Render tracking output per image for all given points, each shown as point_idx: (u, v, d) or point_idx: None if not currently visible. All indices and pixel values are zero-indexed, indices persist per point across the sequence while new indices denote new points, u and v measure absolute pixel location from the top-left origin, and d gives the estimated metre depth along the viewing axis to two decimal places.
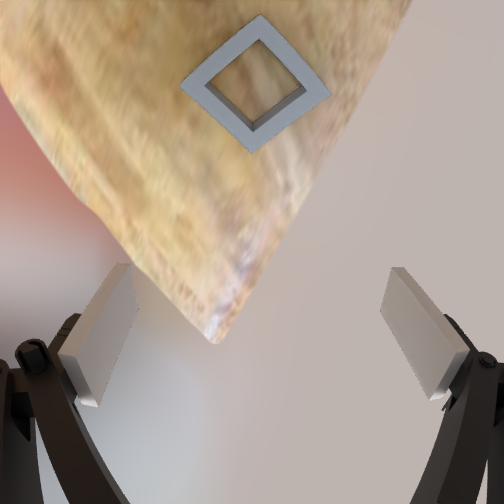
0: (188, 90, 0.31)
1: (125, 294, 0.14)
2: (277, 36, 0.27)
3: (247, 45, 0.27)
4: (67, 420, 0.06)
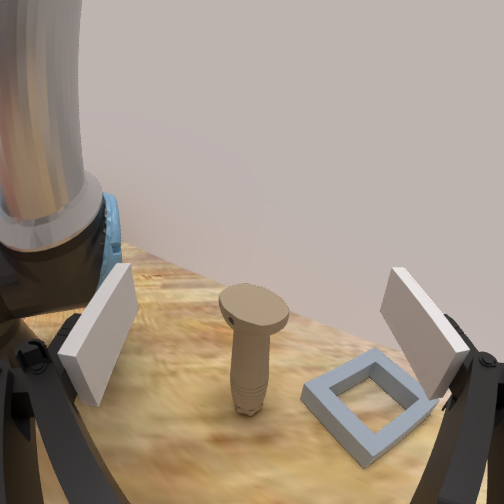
0: (378, 447, 0.24)
1: (125, 294, 0.14)
2: (327, 375, 0.34)
3: (334, 396, 0.31)
4: (66, 420, 0.06)
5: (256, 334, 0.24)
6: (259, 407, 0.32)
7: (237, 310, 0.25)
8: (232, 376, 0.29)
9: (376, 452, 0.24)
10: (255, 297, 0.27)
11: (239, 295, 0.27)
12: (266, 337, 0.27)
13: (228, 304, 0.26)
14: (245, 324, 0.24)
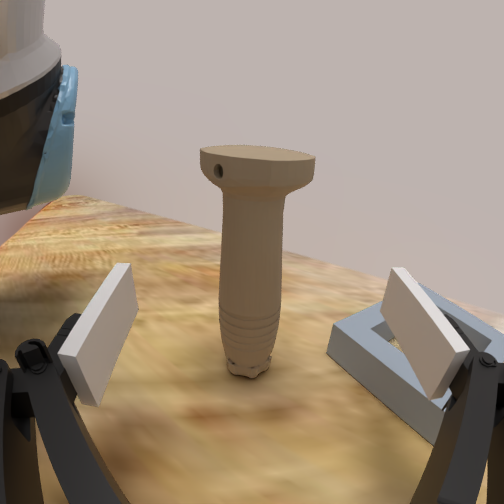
0: None
1: (125, 294, 0.14)
2: (364, 313, 0.23)
3: (381, 340, 0.20)
4: (66, 420, 0.06)
5: (263, 183, 0.14)
6: (266, 363, 0.21)
7: (229, 153, 0.15)
8: (221, 300, 0.19)
9: None
10: (258, 149, 0.17)
11: (233, 148, 0.17)
12: (278, 211, 0.16)
13: (214, 151, 0.15)
14: (243, 165, 0.14)
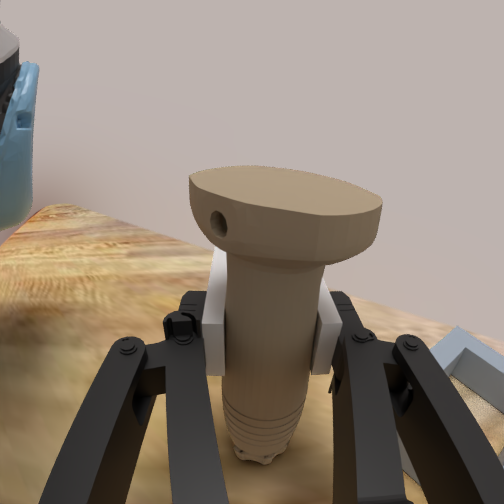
0: None
1: None
2: None
3: None
4: (200, 396, 0.08)
5: (301, 254, 0.07)
6: (282, 448, 0.15)
7: (237, 191, 0.09)
8: (226, 392, 0.12)
9: None
10: (283, 178, 0.10)
11: (242, 175, 0.11)
12: (317, 283, 0.10)
13: (211, 184, 0.09)
14: (266, 220, 0.07)
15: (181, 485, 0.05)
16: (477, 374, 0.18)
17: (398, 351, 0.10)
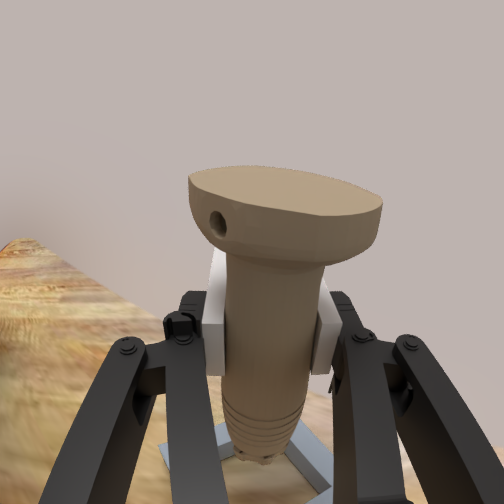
0: None
1: None
2: None
3: None
4: (199, 395, 0.08)
5: (301, 255, 0.07)
6: (282, 449, 0.15)
7: (236, 191, 0.08)
8: (226, 393, 0.12)
9: None
10: (283, 178, 0.10)
11: (241, 175, 0.11)
12: (316, 283, 0.10)
13: (210, 185, 0.09)
14: (266, 221, 0.07)
15: (181, 485, 0.05)
16: (287, 446, 0.23)
17: (398, 351, 0.10)
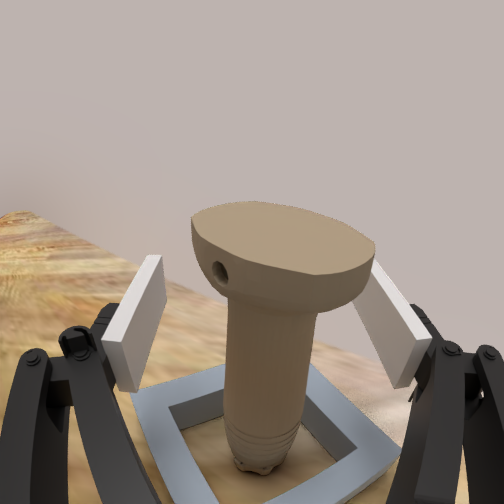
0: None
1: (157, 284, 0.14)
2: (175, 384, 0.18)
3: (172, 425, 0.15)
4: (106, 408, 0.07)
5: (296, 307, 0.08)
6: (280, 460, 0.15)
7: (237, 242, 0.09)
8: (227, 412, 0.13)
9: None
10: (281, 219, 0.11)
11: (242, 217, 0.11)
12: (312, 321, 0.11)
13: (213, 232, 0.10)
14: (264, 277, 0.08)
15: (111, 500, 0.05)
16: None
17: (478, 358, 0.09)
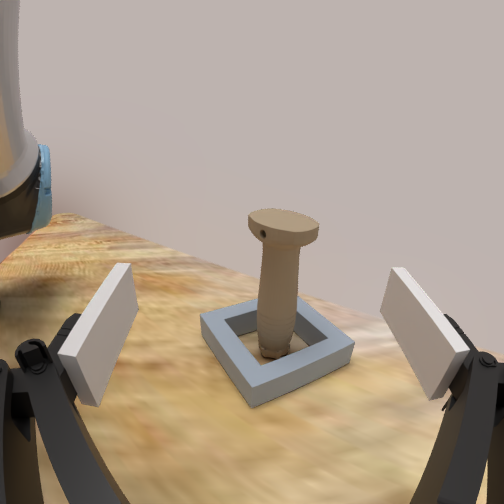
0: (261, 379, 0.26)
1: (125, 294, 0.14)
2: (226, 309, 0.35)
3: (227, 327, 0.32)
4: (66, 420, 0.06)
5: (289, 243, 0.25)
6: (286, 349, 0.32)
7: (268, 223, 0.26)
8: (260, 308, 0.30)
9: (257, 383, 0.25)
10: (284, 216, 0.28)
11: (268, 215, 0.28)
12: (296, 255, 0.27)
13: (259, 220, 0.27)
14: (278, 233, 0.25)
15: None
16: None
17: None
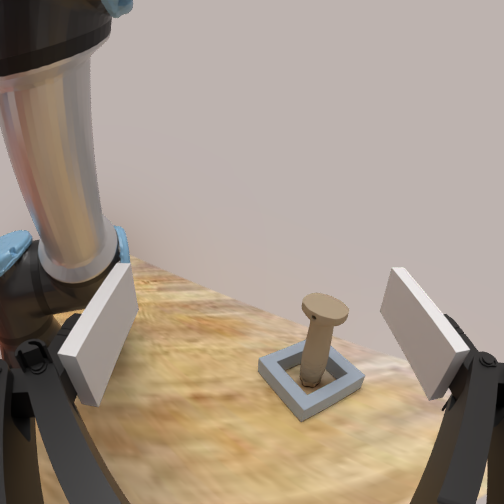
0: (309, 404, 0.39)
1: (125, 294, 0.14)
2: (276, 353, 0.48)
3: (280, 368, 0.45)
4: (66, 420, 0.06)
5: (331, 325, 0.38)
6: (319, 380, 0.45)
7: (317, 310, 0.39)
8: (305, 357, 0.43)
9: (306, 407, 0.38)
10: (325, 301, 0.41)
11: (315, 300, 0.41)
12: None
13: (310, 307, 0.40)
14: (325, 319, 0.38)
15: None
16: None
17: None
